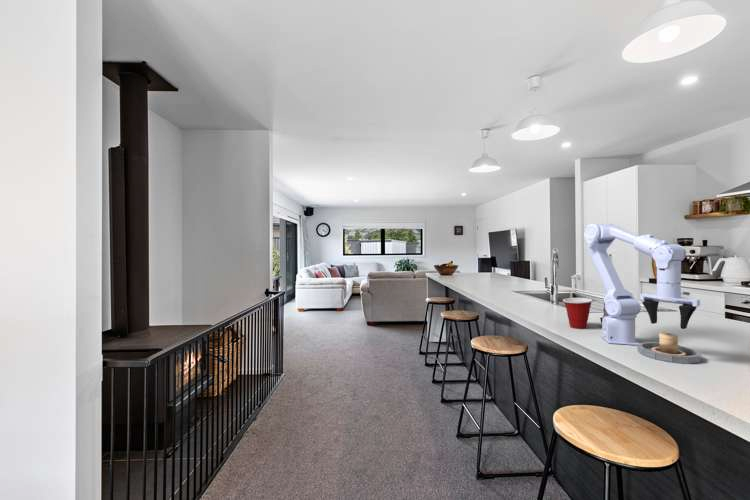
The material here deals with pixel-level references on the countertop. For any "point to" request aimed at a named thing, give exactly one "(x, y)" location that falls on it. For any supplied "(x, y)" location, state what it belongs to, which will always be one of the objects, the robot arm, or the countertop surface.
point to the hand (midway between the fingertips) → (668, 325)
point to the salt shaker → (604, 314)
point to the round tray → (683, 355)
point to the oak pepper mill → (668, 343)
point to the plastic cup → (578, 311)
